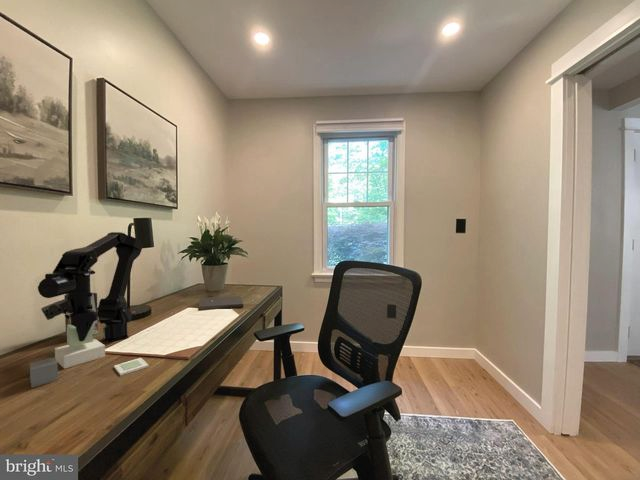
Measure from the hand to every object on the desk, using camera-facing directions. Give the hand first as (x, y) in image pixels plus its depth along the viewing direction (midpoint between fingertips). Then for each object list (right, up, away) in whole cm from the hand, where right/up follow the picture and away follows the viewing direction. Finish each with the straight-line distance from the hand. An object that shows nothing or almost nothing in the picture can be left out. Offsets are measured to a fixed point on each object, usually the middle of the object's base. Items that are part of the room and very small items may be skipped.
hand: (80, 338), depth 89 cm
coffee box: (-16, -6, +20) cm, 26 cm away
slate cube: (+2, -7, -13) cm, 15 cm away
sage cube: (0, -1, 0) cm, 1 cm away
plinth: (0, -7, 0) cm, 7 cm away
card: (+20, -7, -6) cm, 22 cm away
